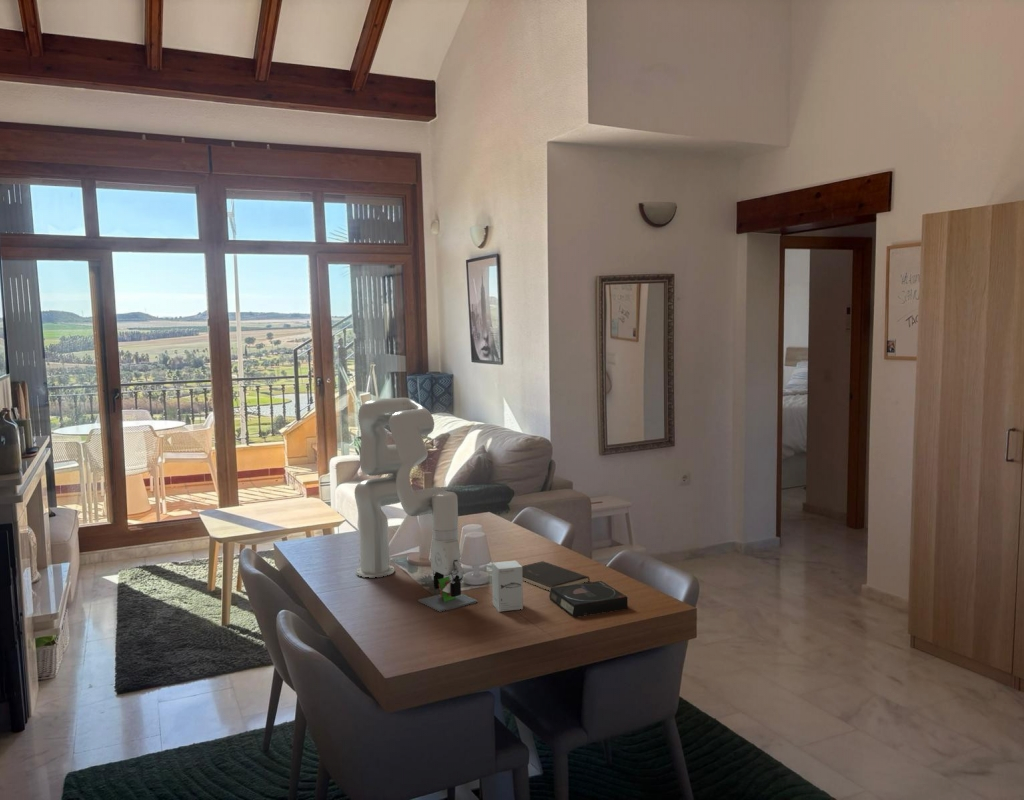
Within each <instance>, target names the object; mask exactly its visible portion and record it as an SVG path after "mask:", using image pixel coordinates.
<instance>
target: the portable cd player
mask: <svg viewBox="0 0 1024 800" xmlns="http://www.w3.org/2000/svg"><path fill="white" fill-rule="evenodd" d="M548 598H549V600H550V601H552V603H554V604H555V605H557V606H558V607H559V606H560V607H559V608H561V609H562V610H563V609H564V610H563V611H565V612H566V613H567V614H568V615H570V616H571V617H573V618H574V617H575V618H579V617H578V616H581V617H585V616H584V615H587V616H591V615H590V614H594V615H598V614H597V613H600V614H603V613H602V612H606V613H611V612H610V611H613V612H616V611H615V610H619V611H623V610H622V609H625V610H628V609H629V608H628V596H627V595H625V594H624V593H622V592H620V591H619V590H618V589H615V588H614V587H612V586H610V585H609V584H608V583H605V582H604V581H603V580H598V581H589V582H585V583H581V584H575V585H568V586H560V587H553V588H551V590H550V591H549V597H548Z"/></svg>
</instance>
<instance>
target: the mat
mask: <svg viewBox="0 0 1024 800" xmlns="http://www.w3.org/2000/svg"><path fill="white" fill-rule="evenodd" d="M436 595H437V596H436ZM439 596H440V597H439ZM418 601H420V602H421V604H422V603H423V604H422V605H424V604H425V606H426V605H427V607H428V606H429V607H428V608H430V607H431V609H432V608H433V609H432V610H434V609H435V610H434V611H436V610H437V612H438V611H439V612H438V613H441V612H442V611H443V612H445V610H446V611H450V610H454V609H459V608H461V606H462V607H465V605H466V606H470V605H473V604H477V603H478V600H477V599H475V598H473V597H471V596H468V595H466V594H464V593H462V592H461V595H459V596H455V599H452V600H449V601H446V602H443V599H442V598H441V593H440V594H434V595H432V596H427V597H423V598H419V599H418ZM418 601H417V602H418ZM420 602H419V603H420ZM476 602H477V603H476ZM469 604H470V605H469Z"/></svg>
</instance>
